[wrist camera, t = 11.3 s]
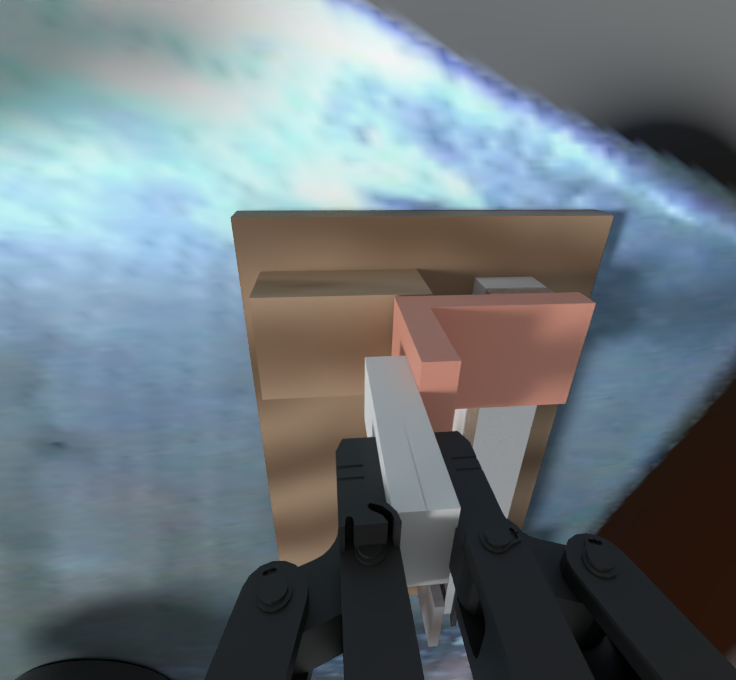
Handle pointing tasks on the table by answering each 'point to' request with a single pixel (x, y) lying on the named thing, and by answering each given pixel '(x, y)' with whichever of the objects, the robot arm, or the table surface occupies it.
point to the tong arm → (497, 446)
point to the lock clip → (490, 349)
